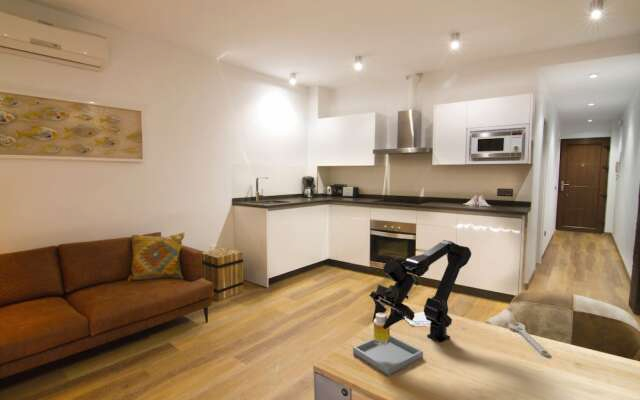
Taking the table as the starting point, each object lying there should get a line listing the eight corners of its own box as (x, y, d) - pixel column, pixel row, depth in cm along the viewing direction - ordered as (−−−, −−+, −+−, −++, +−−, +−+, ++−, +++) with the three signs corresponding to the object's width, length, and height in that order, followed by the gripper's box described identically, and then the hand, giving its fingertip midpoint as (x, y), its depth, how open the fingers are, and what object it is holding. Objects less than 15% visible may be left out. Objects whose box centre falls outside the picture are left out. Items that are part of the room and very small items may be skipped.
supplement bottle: (391, 346, 120) (390, 317, 119) (374, 346, 120) (374, 318, 119) (388, 338, 126) (387, 311, 125) (373, 338, 126) (372, 311, 125)
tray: (386, 339, 137) (386, 333, 137) (422, 357, 123) (422, 351, 123) (353, 353, 127) (353, 347, 127) (388, 376, 113) (388, 368, 113)
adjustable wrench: (551, 358, 121) (551, 353, 121) (531, 357, 122) (531, 352, 122) (521, 326, 146) (521, 322, 146) (505, 325, 147) (505, 321, 147)
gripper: (372, 270, 131) (349, 304, 126) (407, 283, 115) (382, 323, 110) (389, 286, 135) (367, 320, 131) (425, 300, 119) (401, 340, 115)
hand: (378, 325), depth 122 cm, fingers closed on supplement bottle, 6 cm apart
